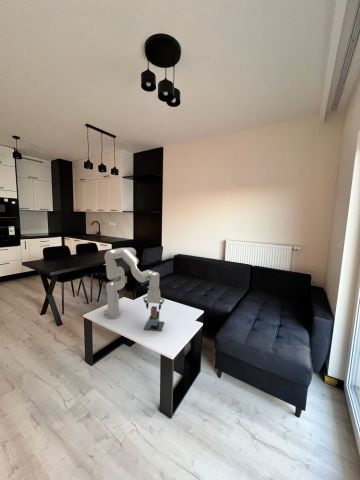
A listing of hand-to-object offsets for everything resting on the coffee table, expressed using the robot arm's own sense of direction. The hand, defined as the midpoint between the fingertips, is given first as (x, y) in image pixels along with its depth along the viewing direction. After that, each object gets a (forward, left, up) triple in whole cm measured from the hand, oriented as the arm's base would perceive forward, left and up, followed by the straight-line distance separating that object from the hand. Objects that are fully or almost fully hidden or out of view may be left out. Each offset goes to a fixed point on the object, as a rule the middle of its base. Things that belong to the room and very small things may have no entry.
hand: (153, 308), depth 154 cm
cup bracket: (0, +2, -16) cm, 16 cm away
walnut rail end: (0, 0, -11) cm, 11 cm away
